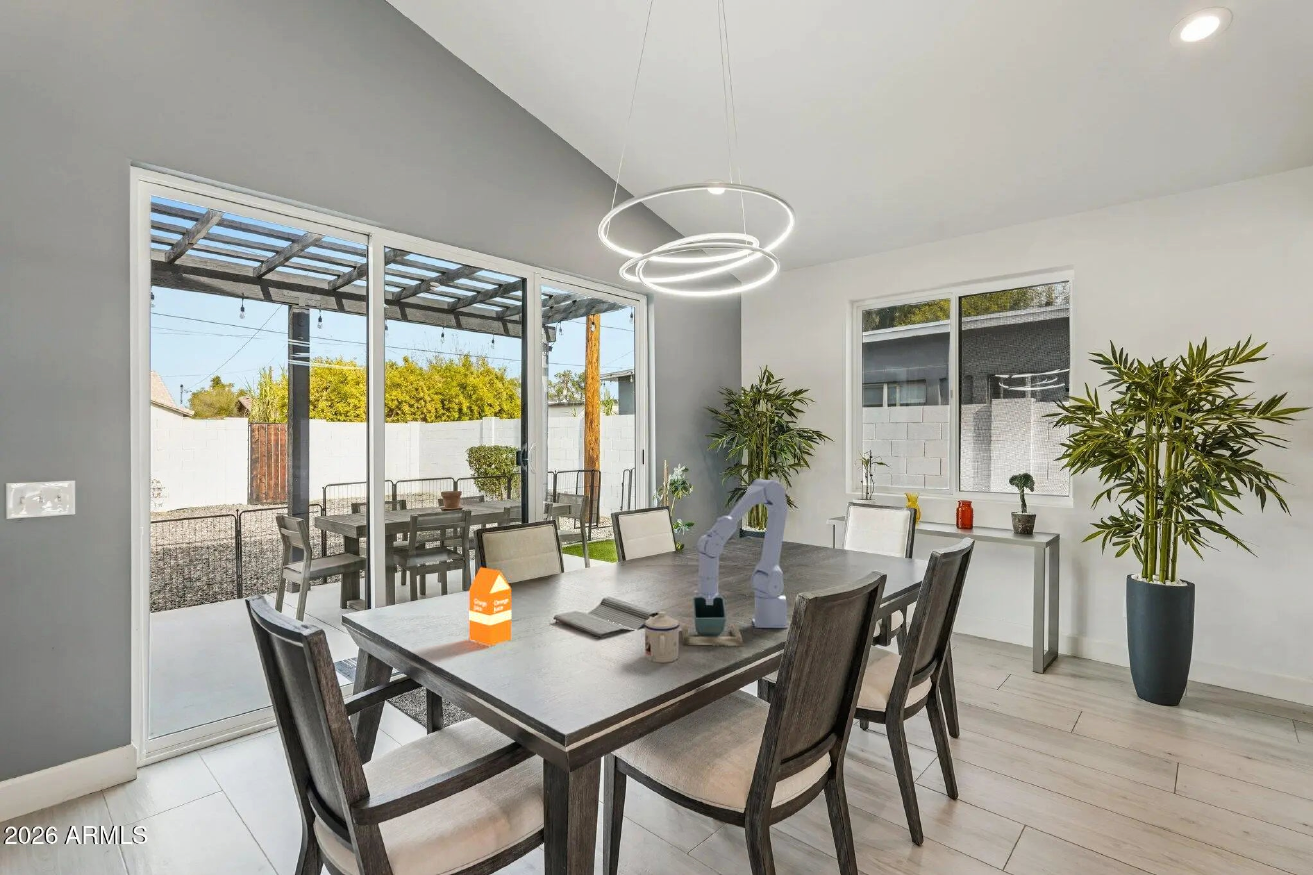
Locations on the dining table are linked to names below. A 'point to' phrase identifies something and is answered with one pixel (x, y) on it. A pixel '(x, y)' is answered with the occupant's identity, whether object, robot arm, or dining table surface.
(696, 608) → the flower pot
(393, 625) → the dining table surface
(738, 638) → the cream wooden frame
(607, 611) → the mat
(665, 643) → the teacup with lid
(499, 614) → the orange juice
